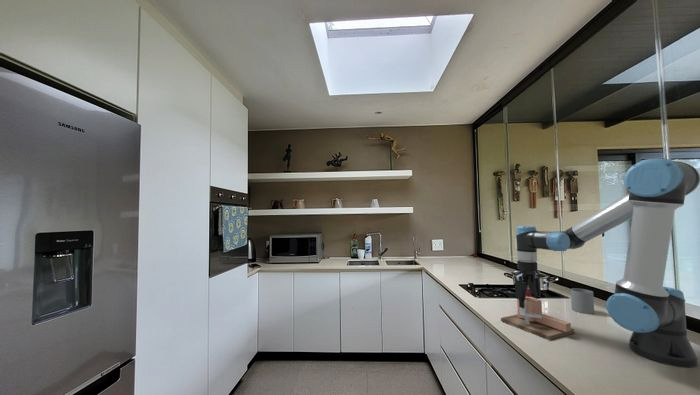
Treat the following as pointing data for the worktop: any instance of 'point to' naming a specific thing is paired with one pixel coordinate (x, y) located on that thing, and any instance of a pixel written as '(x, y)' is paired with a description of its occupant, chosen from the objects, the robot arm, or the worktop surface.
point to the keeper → (531, 314)
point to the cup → (582, 301)
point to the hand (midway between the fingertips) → (528, 314)
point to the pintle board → (535, 327)
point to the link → (536, 307)
